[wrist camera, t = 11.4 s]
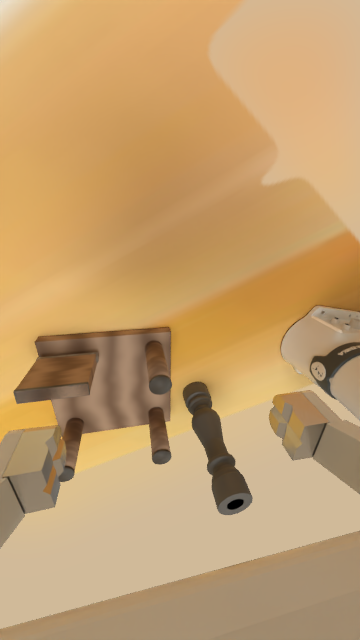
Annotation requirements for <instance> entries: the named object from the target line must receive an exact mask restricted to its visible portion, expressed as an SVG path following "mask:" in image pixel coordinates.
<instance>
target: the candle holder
mask: <svg viewBox="0 0 360 640" xmlns="http://www.w3.org/2000/svg"><path fill="white" fill-rule="evenodd" d="M183 397H184V401H185V404H186V407H187V408H188V410H189V412H190V413H191V414H192V415H193V418H192V428H193V430H194V431H195V433H196V434H197V436H198V438H199V440H200V441H201V443H202V445H203V446H204V448H205V451H206V454H207V457H208V460H209V461H208V464H207V470H208V472H209V473H210V474H211V475H213V478H212V491H213V495H214V498H215V502H216V505H217V509H218V511H219V512H220V513H221V514H224V515H232V514H236V513H239V512H241V511H243V510H244V509H246V508H247V507H248V506H249V505H250V504H251V503H252V495H251V493H250V491H249V488H248V486H247V484H246V482H245V479H244V477H243V475H242V474H240V472H239V471H238V470H237V469H236V468H235V467H234V466H235V459H234V458H233V456H232V455H230V454H229V453H228V452H227V449H226V447H225V444H224V442H223V436H222V429H221V422H220V417H219V416H218V414H217V413H216V411H214V410H212V409H211V407H212V401H211V396H210V394H209V392H208V389H207V387H206V386H205V384H203V383H201V382H194V383H191V384H189V385H187V386H186V387H185V388H184V391H183Z"/></svg>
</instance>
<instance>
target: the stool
mask: <svg viewBox="0 0 360 640" xmlns="http://www.w3.org/2000/svg"><path fill="white" fill-rule="evenodd" d="M35 345H36V348H37V352H38V355H39V357H46V356H58V355H69V354H81V353H93V352H98V355H99V362H98V363H97V366H96V370H95V374H94V378H93V382H92V386H91V390H90V395H87V396H78V397H70V398H61V399H53V400H51V401H52V405H53V408H54V412H55V415H56V419H57V422H58V425H59V426H60V427H61V430H62V434H61V436H62V437H63V438H62V440H63V441H65V445H66V463H65V467H64V471H63V472H62V473H61V475H60V476H59V477H58V479H59V482H65V481H68V480H70V479H72V478H73V476H74V472H75V466H76V461H77V456H78V451H79V446H80V441H81V436H82V434H85V433H91V432H98V431H105V430H112V429H119V428H126V427H133V426H139V425H146V424H149V427H150V438H151V448H152V460H153V462H154V463H155V464H165V463H167V462H168V461H169V460H170V459H171V452H170V447H169V441H168V436H167V430H166V424H165V422H167V421H170V389H171V387H172V383H171V379H170V366H171V331H170V328H169V327H167V328H153V329H139V330H125V331H112V332H98V333H84V334H70V335H56V336H42V337H38V338H37V340H36V341H35Z"/></svg>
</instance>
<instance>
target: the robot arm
mask: <svg viewBox="0 0 360 640" xmlns="http://www.w3.org/2000/svg"><path fill="white" fill-rule="evenodd" d="M281 353H282V357H283V358H284V360H285V361H286V362H288V363H289V364H291V365H292V366H293V368H294V370H295V371H296V372H297V373H299V374H303V375H305V376H306V377H307V378H308V379H310V380H311V381H312V382H314V383H315V384H316V385H318V386H319V387H321V388H322V389H323V390H324V392H325V393H327V394H328V395H330V396H331V397H332V398H334V399H337V400H338V401H339V402H340V403H341V404H342V405H344V406H345V407H346V408H347V409H348V410H349V411H350V412H351V413H352V414H353V415H354V416H355V417H356V418H358V419H359V420H360V312H358V311H351V310H345V309H338V308H332V307H325V306H315V307H314V308H313V309H312V310H311V311H310V312H309V313H308V314H307V315H306V316H305V317H304V318H302V319H301V320H299V321H298V322H296V323H295V324H294V325H293V326H292V327H291V328H290V329H289V330H288V332H287V333H286V335H285V337H284V339H283V341H282V345H281ZM273 404H274V407H273V408H272V409H271V410H270V414H269V420H270V425H271V427H272V429H273V431H274V432H275V434H276V435H277V436H279V437H280V438H282V439H283V440H282V445H283V446H284V448H285V449H286V451H287V453H288V454H289V456H290V457H291V459H292V460H298V459H304V458H310V457H313V459H314V460H316V461H317V462H318V463H320V464H321V465H322V466H323V467H325V468H326V469H328V470H329V471H330V472H331V473H333V474H334V475H335V476H337V477H338V478H339V479H340V480H342V481H343V482H345V483H346V484H347V485H348V486H350V487H351V488H353V489H354V490H355V491H356V492H358V493H359V494H360V427H359V426H357V425H355V424H353V423H351V422H348V421H347V420H344V421H342V420H341V419H340V418H339V417H338V416H337V415H336V414H335V413H334V412H333V411H332V410H331V409H330V408H329V407H328V406H327V405H326V404H325V403H324V402H323V401H322V400H321V399H320V398H319V397H318V396H317V395H316V394H315V393H314V392H313V391H310V390H307V391H300V392H292V393H286V394H279V395H276V396H275V397H274V398H273ZM61 434H62V430H61V427H60V426H59V425H55V426H46V427H37V428H28V429H22V430H13V431H9V432H8V433H7V434H6V435H5V436H4V438H3V440H2V442H1V443H0V548H1V547H2V546H3V544H4V543H5V541H6V540H7V539H8V538H9V536H10V535H11V534H12V532H13V531H14V530H15V528H16V527H17V526H18V524H19V523H20V521H21V520H22V519H23V518H24V516H25V515H24V514H26V513H31V512H35V511H40V510H44V509H49V508H53V507H55V504H56V500H57V496H58V492H59V488H60V482H59V479H58V477H59V476H60V475H61V473H62V472H63V471H64V467H65V463H66V445H65V441H63V440H62V439H60V438H61ZM0 640H360V531H357V532H353V533H349V534H346V535H342V536H339V537H335V538H331V539H328V540H324V541H320V542H317V543H313V544H309V545H306V546H302V547H298V548H295V549H291V550H287V551H284V552H280V553H276V554H273V555H269V556H266V557H262V558H258V559H254V560H251V561H247V562H244V563H240V564H236V565H233V566H229V567H225V568H222V569H218V570H214V571H211V572H207V573H203V574H200V575H196V576H193V577H189V578H185V579H182V580H178V581H174V582H171V583H167V584H163V585H160V586H156V587H152V588H149V589H145V590H142V591H138V592H134V593H130V594H127V595H123V596H119V597H116V598H112V599H108V600H105V601H101V602H98V603H94V604H90V605H87V606H83V607H80V608H76V609H72V610H69V611H65V612H61V613H57V614H54V615H51V616H47V617H43V618H39V619H36V620H32V621H28V622H25V623H21V624H17V625H14V626H10V627H6V628H3V629H0Z"/></svg>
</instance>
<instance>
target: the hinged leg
mask: <svg viewBox="0 0 360 640" xmlns="http://www.w3.org/2000/svg"><path fill="white" fill-rule="evenodd" d="M98 362H99V355H98V352H93V353H81V354H69V355H58V356H46V357H38V358H37V360H36V362H35V363H34V365H33V366H32V368H31V369H30V370H29V372H28V373H27V374H26V376H25V377H24V379H23V380H22V381H21V383H20V384H19V386H18V387H17V388H16V390H14V396H15V399H16V402H17V404H19V403H28V402H36V401H45V400H53V399H61V398H70V397H78V396H87V395H90V390H91V386H92V382H93V378H94V374H95V370H96V366H97V363H98Z"/></svg>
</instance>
